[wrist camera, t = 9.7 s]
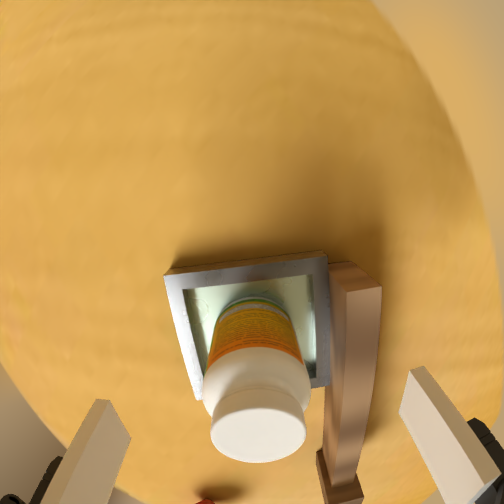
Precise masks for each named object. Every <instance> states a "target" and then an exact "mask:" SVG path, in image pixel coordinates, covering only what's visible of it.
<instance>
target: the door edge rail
mask: <svg viewBox="0 0 504 504" xmlns="http://www.w3.org/2000/svg"><path fill="white" fill-rule="evenodd" d="M328 270H329V295H330V385H328V386H325V407H324V430H323V447H322V451H318V452H316V466H317V471H318V475H319V480H320V484H321V489H322V493H323V498H324V502H325V504H362V501H363V499H364V495H363V492H362V489H361V486H360V483H359V480H358V477H357V474H356V470H357V466H358V462H359V458H360V454H361V450H362V445H363V441H364V436H365V431H366V426H367V421H368V416H369V410H370V405H371V399H372V392H373V386H374V378H375V371H376V362H377V353H378V343H379V332H380V318H381V299H382V286H381V285H380V284H379V283H378V282H376V281H375V280H374V279H373V278H371V277H370V276H369V275H368V274H367V273H365V272H364V271H363V270H362V269H360V268H359V267H358V266H357V265H355V264H354V263H353V262H352V261H347V262H339V263H332V264H328Z"/></svg>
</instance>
